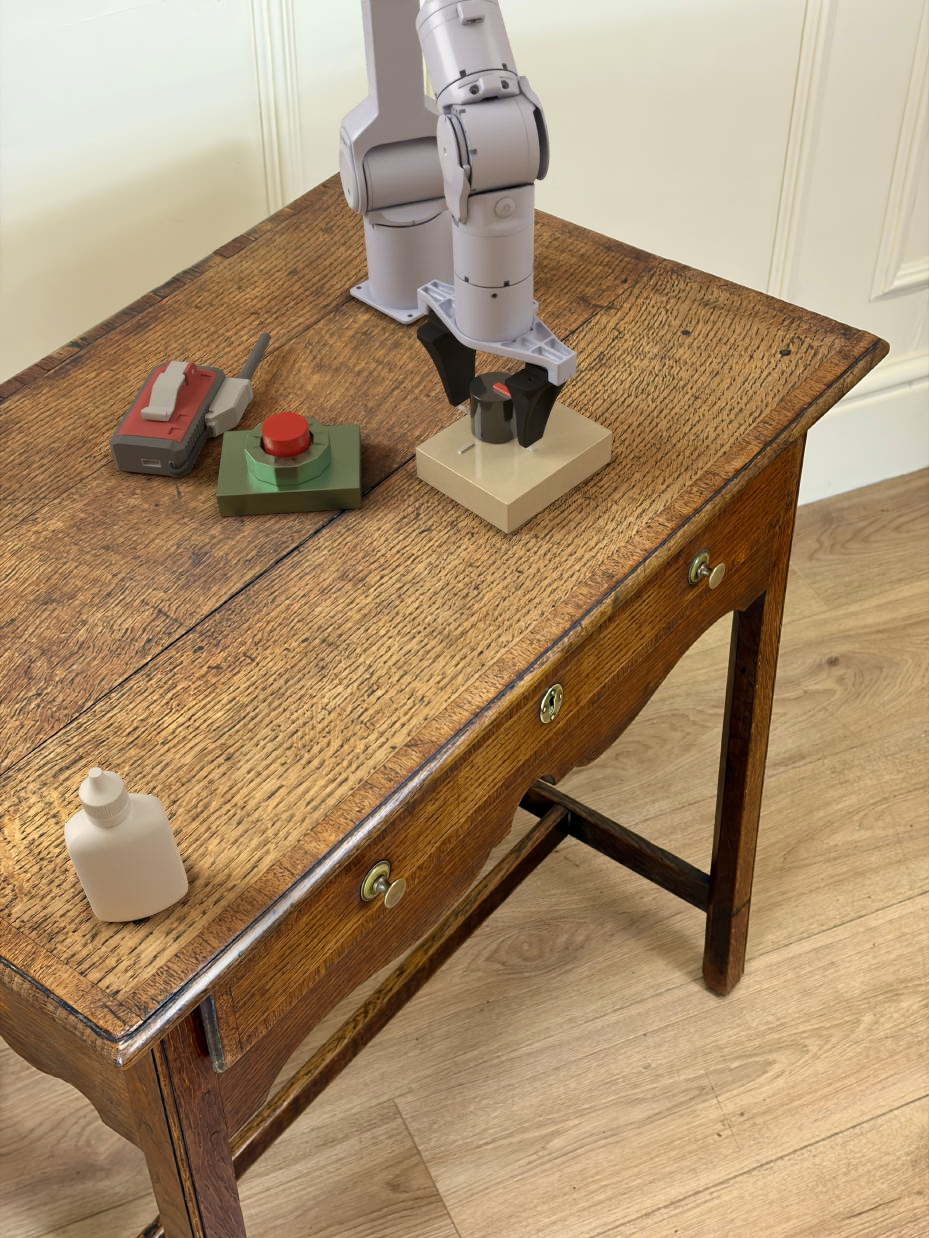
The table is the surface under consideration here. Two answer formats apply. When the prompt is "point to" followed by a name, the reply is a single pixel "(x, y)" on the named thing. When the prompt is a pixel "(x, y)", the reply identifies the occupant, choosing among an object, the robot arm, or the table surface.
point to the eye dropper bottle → (124, 850)
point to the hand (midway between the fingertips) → (495, 420)
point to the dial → (492, 408)
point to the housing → (291, 473)
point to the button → (286, 434)
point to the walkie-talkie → (181, 414)
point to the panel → (513, 466)
